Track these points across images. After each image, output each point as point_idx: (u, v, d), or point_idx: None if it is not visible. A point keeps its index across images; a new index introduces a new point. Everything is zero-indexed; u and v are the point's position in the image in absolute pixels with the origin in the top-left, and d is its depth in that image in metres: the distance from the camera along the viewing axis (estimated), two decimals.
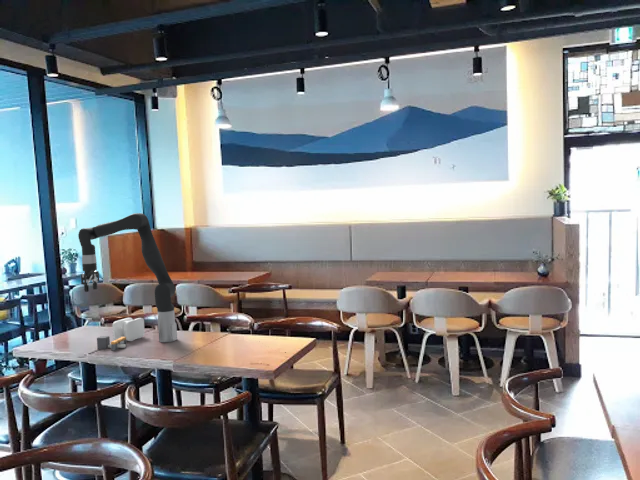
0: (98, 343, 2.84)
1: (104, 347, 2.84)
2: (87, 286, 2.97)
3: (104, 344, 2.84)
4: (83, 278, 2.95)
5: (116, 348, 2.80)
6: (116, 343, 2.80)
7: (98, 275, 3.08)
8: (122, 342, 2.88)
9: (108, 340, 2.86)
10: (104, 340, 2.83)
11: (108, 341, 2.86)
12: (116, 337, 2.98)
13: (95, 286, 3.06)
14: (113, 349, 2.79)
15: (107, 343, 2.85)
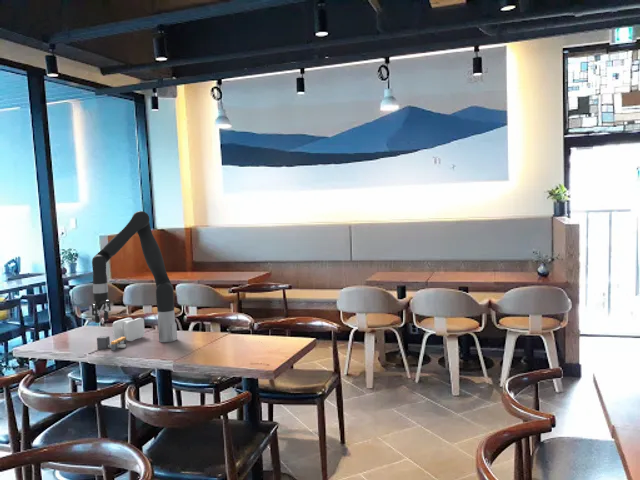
0: (98, 343, 2.84)
1: (104, 347, 2.84)
2: (98, 317, 2.80)
3: (104, 344, 2.84)
4: (94, 309, 2.78)
5: (116, 348, 2.80)
6: (116, 343, 2.80)
7: (109, 304, 2.91)
8: (122, 342, 2.88)
9: (108, 340, 2.86)
10: (104, 340, 2.83)
11: (108, 341, 2.86)
12: (116, 337, 2.98)
13: (106, 316, 2.89)
14: (113, 349, 2.79)
15: (107, 343, 2.85)
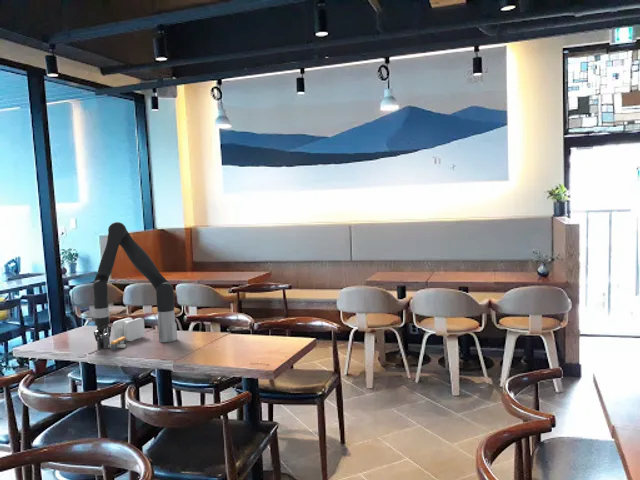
0: (98, 343, 2.84)
1: (104, 347, 2.84)
2: (102, 342, 2.83)
3: (104, 344, 2.84)
4: (97, 336, 2.80)
5: (116, 348, 2.80)
6: (116, 343, 2.80)
7: (110, 330, 2.91)
8: (122, 342, 2.88)
9: (108, 340, 2.86)
10: (104, 340, 2.83)
11: (108, 341, 2.86)
12: (116, 337, 2.98)
13: None
14: (113, 349, 2.79)
15: (107, 343, 2.85)
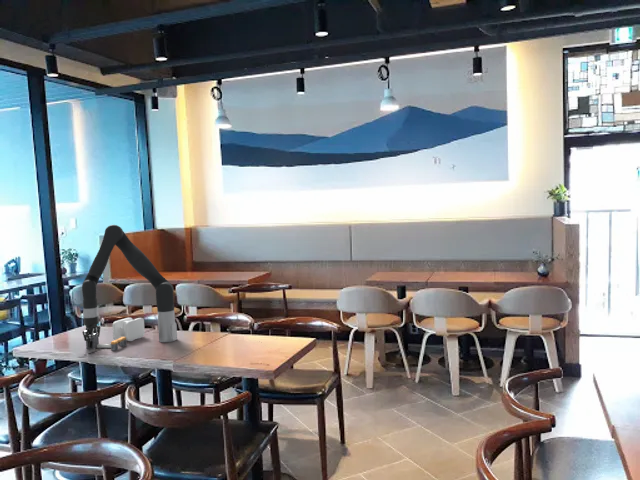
0: (87, 343, 2.85)
1: (93, 347, 2.84)
2: (91, 342, 2.84)
3: (93, 344, 2.84)
4: (85, 335, 2.80)
5: (116, 348, 2.80)
6: (116, 343, 2.80)
7: (99, 330, 2.92)
8: (122, 342, 2.88)
9: (96, 340, 2.87)
10: (93, 340, 2.84)
11: (97, 341, 2.87)
12: (116, 337, 2.98)
13: None
14: (113, 349, 2.79)
15: (96, 343, 2.86)
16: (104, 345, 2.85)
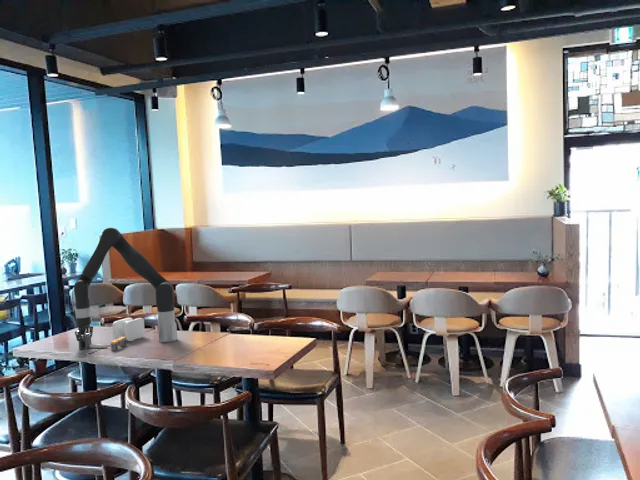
0: (79, 343, 2.86)
1: (85, 347, 2.85)
2: (83, 342, 2.85)
3: (85, 344, 2.85)
4: (78, 336, 2.81)
5: (116, 348, 2.80)
6: (116, 343, 2.80)
7: (92, 330, 2.92)
8: (122, 342, 2.88)
9: (89, 340, 2.87)
10: (85, 340, 2.85)
11: (90, 341, 2.88)
12: (116, 337, 2.98)
13: None
14: (113, 349, 2.79)
15: (88, 343, 2.87)
16: (97, 345, 2.85)
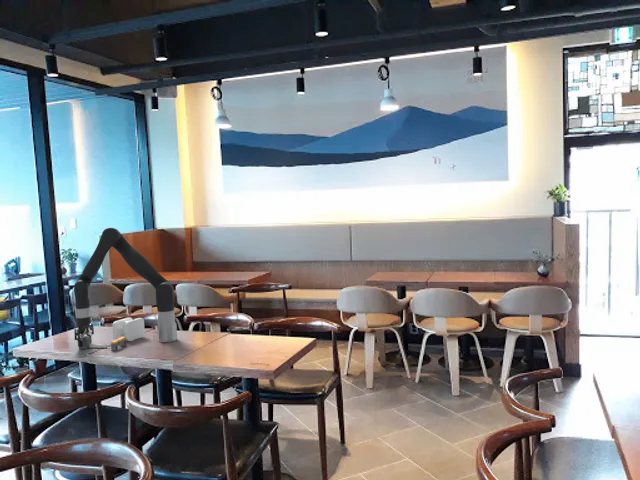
0: None
1: (85, 347, 2.85)
2: (81, 341, 2.83)
3: (85, 344, 2.85)
4: (76, 334, 2.80)
5: (116, 348, 2.80)
6: (116, 343, 2.80)
7: (92, 328, 2.93)
8: (122, 342, 2.88)
9: (89, 340, 2.87)
10: (85, 340, 2.85)
11: (89, 341, 2.88)
12: (116, 337, 2.98)
13: None
14: (113, 349, 2.79)
15: (88, 343, 2.87)
16: (96, 345, 2.85)
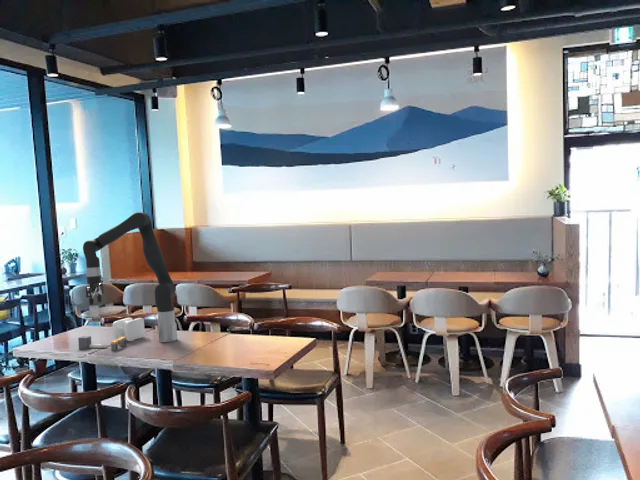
0: (79, 343, 2.86)
1: (85, 347, 2.85)
2: (92, 299, 2.93)
3: (85, 344, 2.85)
4: (88, 291, 2.91)
5: (116, 348, 2.80)
6: (116, 343, 2.80)
7: (102, 287, 3.04)
8: (122, 342, 2.88)
9: (89, 340, 2.87)
10: (85, 340, 2.85)
11: (89, 341, 2.88)
12: (116, 337, 2.98)
13: (99, 299, 3.02)
14: (113, 349, 2.79)
15: (88, 343, 2.87)
16: (96, 345, 2.85)
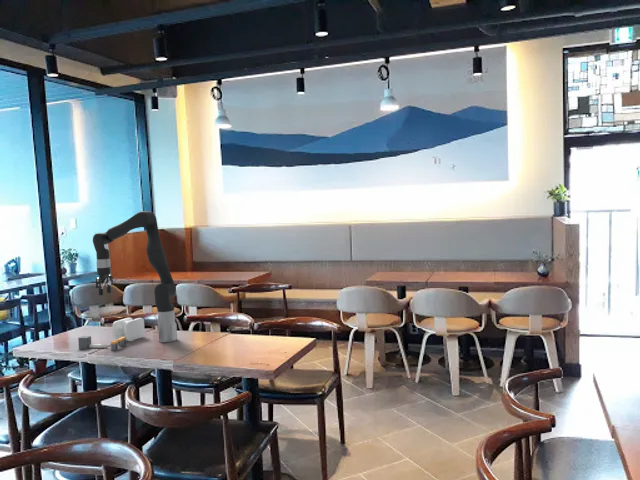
0: (79, 343, 2.86)
1: (85, 347, 2.85)
2: (101, 290, 3.03)
3: (85, 344, 2.85)
4: (98, 282, 3.00)
5: (116, 348, 2.80)
6: (116, 343, 2.80)
7: (112, 279, 3.13)
8: (122, 342, 2.88)
9: (89, 340, 2.87)
10: (85, 340, 2.85)
11: (89, 341, 2.88)
12: (116, 337, 2.98)
13: (109, 290, 3.11)
14: (113, 349, 2.79)
15: (88, 343, 2.87)
16: (96, 345, 2.85)
